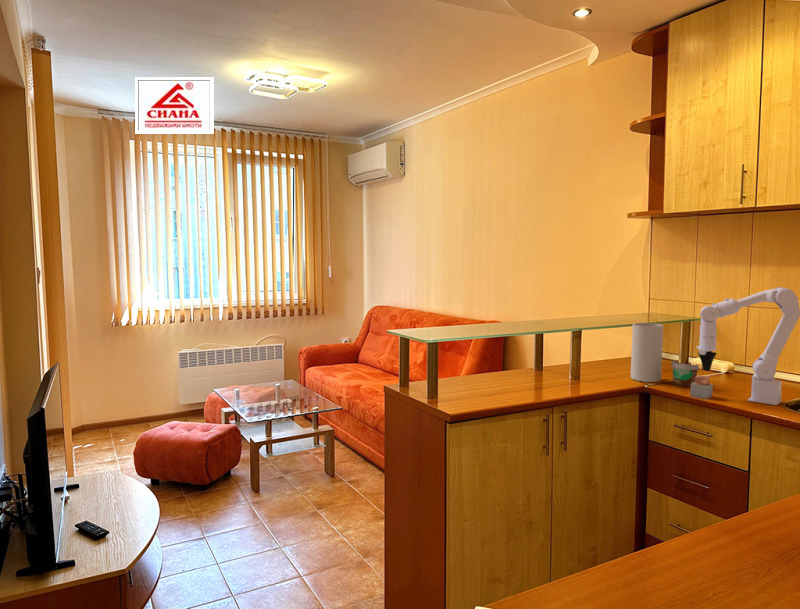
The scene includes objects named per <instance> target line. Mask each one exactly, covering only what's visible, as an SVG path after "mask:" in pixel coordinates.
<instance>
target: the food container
mask: <svg viewBox="0 0 800 609" xmlns="http://www.w3.org/2000/svg"><path fill="white" fill-rule="evenodd" d="M670 366H671V368H672V380H673V381H672V383H673V385H674V386H676V387H678V388H679V387H680V388H686V387H687V389H688V388H689V389H691V384H692V383H694V382H695V377H696V376H698V371H699V370H700V369H699V368H700V366H699V364H690V363H687V362H684V363H683V362H679V361H678V362H677V359H674V360H672V362H671V363H670Z"/></svg>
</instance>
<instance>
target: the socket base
mask: <svg viewBox="0 0 800 609" xmlns="http://www.w3.org/2000/svg"><path fill="white" fill-rule="evenodd" d="M689 389H690V392H689V395H690V397H691V396H692V398H696V399H697V398H698V399H703V400H708V399H710V398H712V397H713V383H710V382H709V385H708V386H703V385H696V384H695V382H694V383H692V384H691V388H689Z"/></svg>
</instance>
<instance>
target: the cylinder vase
mask: <svg viewBox="0 0 800 609" xmlns="http://www.w3.org/2000/svg"><path fill="white" fill-rule="evenodd" d="M631 329H632V330H631V332H632V333H631V335H632V336H631V356H630V358H631V360H630V379H631V378H632V379H631V380H633V379H634V380H633V381H635V380H638V381H637V382H639V381H642V382H641V383H648V382H654V383H659V382H661V380H662V365H663V359H662V358H663V342H664V340H663V338H664V325H663V324H660V323H653V322H636V323H632V328H631Z"/></svg>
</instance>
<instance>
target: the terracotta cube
mask: <svg viewBox="0 0 800 609" xmlns="http://www.w3.org/2000/svg"><path fill="white" fill-rule="evenodd" d="M709 383H710V376H707V375H700V374H697V376H696V377H695V384H696V385H703V386H708V385H709Z"/></svg>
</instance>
